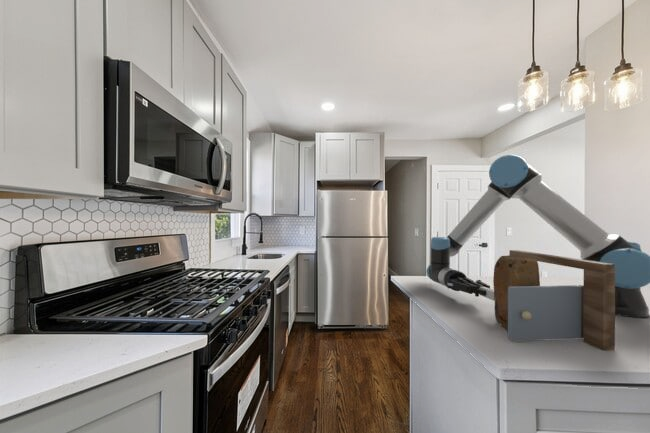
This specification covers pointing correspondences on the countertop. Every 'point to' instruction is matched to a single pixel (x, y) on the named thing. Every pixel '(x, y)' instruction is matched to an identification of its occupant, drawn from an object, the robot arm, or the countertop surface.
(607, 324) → the door frame
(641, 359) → the countertop surface
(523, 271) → the brown elongated rounded part
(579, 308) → the door
